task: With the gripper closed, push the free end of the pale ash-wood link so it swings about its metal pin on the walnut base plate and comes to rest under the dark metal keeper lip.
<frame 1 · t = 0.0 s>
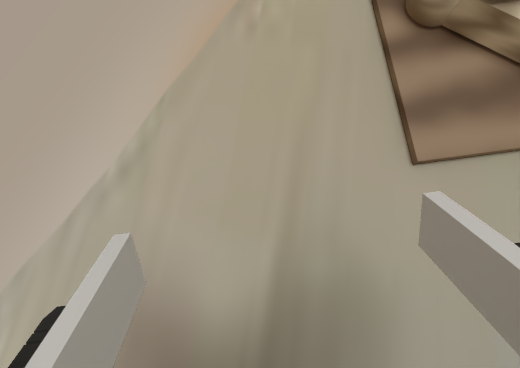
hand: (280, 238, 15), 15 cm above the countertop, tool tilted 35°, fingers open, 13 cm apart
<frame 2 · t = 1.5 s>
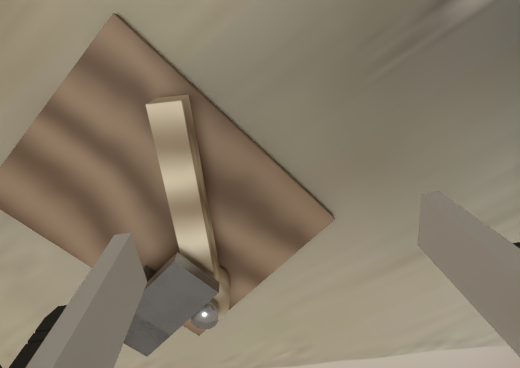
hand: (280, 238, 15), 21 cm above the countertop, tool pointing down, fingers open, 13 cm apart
keeper: (156, 281, 41), resting on base plate
link: (192, 219, 34), point 4 cm above the countertop, hinge at -40.0°
base plate: (166, 203, 37), on the countertop
pintle: (210, 273, 41), resting on base plate
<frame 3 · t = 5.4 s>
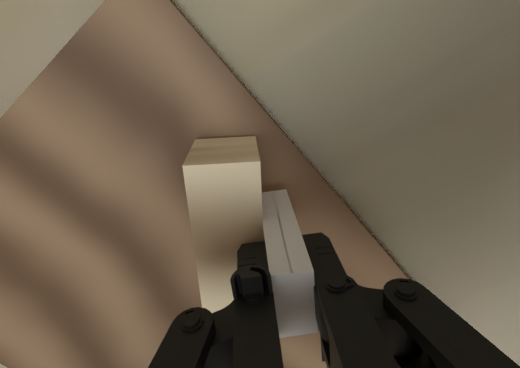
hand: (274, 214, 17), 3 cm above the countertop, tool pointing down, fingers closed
link: (241, 350, 19), point 3 cm above the countertop, hinge at -38.6°, touching gripper
base plate: (194, 303, 22), on the countertop
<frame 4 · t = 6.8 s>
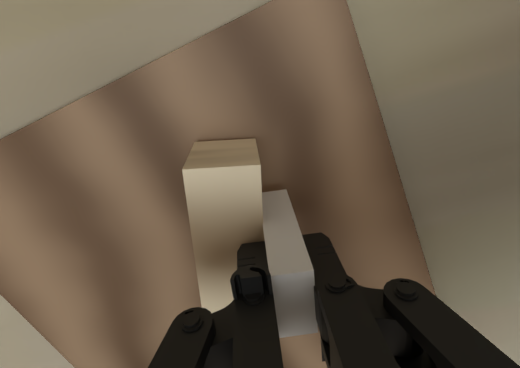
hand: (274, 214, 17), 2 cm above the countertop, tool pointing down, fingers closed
link: (241, 353, 19), point 3 cm above the countertop, hinge at -22.2°, touching gripper
base plate: (238, 297, 22), on the countertop
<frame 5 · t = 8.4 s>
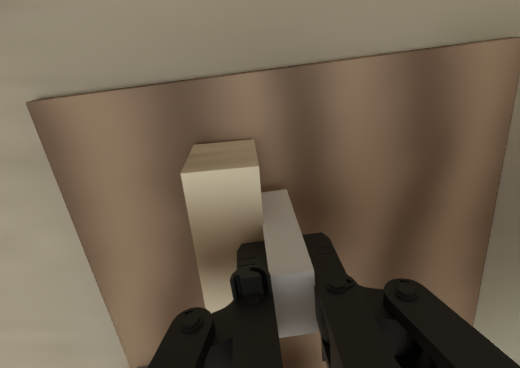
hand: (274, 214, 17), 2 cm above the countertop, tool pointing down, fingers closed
link: (247, 353, 19), point 3 cm above the countertop, hinge at -2.4°, touching gripper
base plate: (297, 299, 22), on the countertop
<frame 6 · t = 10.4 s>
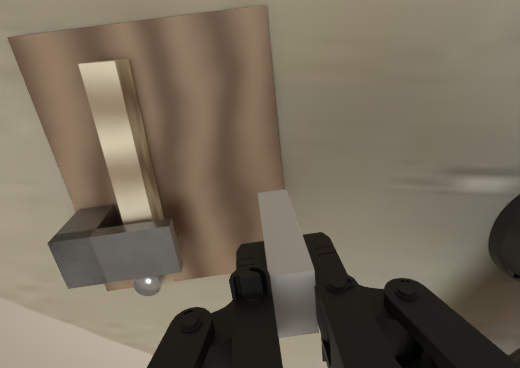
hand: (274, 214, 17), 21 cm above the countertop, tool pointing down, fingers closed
keeper: (107, 222, 39), resting on base plate
link: (136, 186, 34), point 4 cm above the countertop, hinge at -2.4°
base plate: (175, 167, 37), on the countertop
pintle: (161, 245, 41), resting on base plate
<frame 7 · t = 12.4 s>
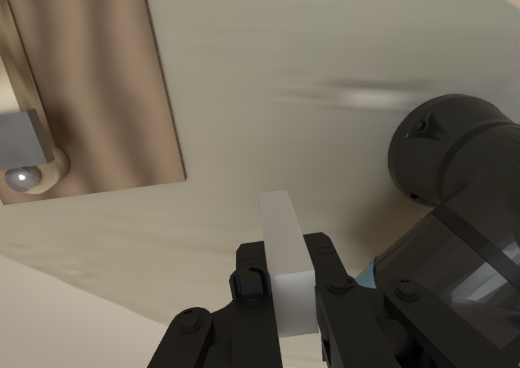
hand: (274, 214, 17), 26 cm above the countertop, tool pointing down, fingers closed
link: (8, 82, 35), point 4 cm above the countertop, hinge at -2.4°
base plate: (57, 73, 38), on the countertop
pintle: (54, 158, 42), resting on base plate
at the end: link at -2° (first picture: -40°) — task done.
